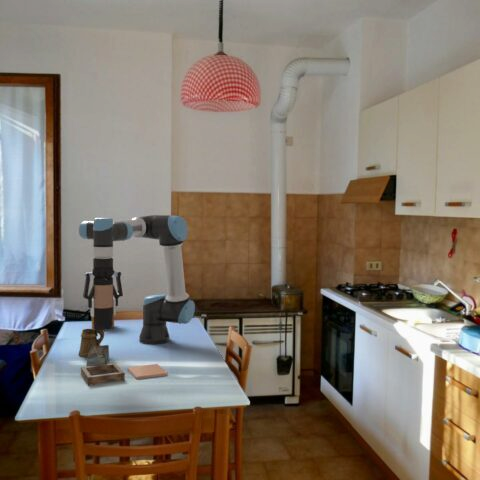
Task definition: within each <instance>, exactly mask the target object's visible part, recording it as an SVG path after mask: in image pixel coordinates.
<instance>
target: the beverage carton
mask: <svg viewBox="0 0 480 480" xmlns="http://www.w3.org/2000/svg"><path fill="white" fill-rule="evenodd" d="M109 346H110V345H109V344H105V345H101V344H100V345H99V346H91V349H90V351H89V354H88V357H86V367H87V366H95V365H104V364H109V358H110V349H109Z"/></svg>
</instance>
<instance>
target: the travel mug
mask: <svg viewBox="0 0 480 480" xmlns="http://www.w3.org/2000/svg"><path fill="white" fill-rule="evenodd" d="M93 285H95V293H94V296H93V298H92V299H93V300H94V317H93V320H94V329H95V330H103V331H109V330H112V329H113V328H112V325H113V318H114V315H113V298H114V296H113V285H114V277H113V276H112V277H111V280H107V279H95V277H94V276H93V283H92V286H93Z"/></svg>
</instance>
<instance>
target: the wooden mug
mask: <svg viewBox="0 0 480 480" xmlns="http://www.w3.org/2000/svg"><path fill="white" fill-rule="evenodd" d="M98 336H99V338H98ZM80 337H81V339H80V345H79V346H80V347H79V351H78V356H79V357H83V358H87V357H88V354H89V351H90V349H91V346H99V345H101V343H102V342H103V340H104V338H105V330H95V329H93V328H83V329H82V332H81V335H80Z"/></svg>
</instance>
